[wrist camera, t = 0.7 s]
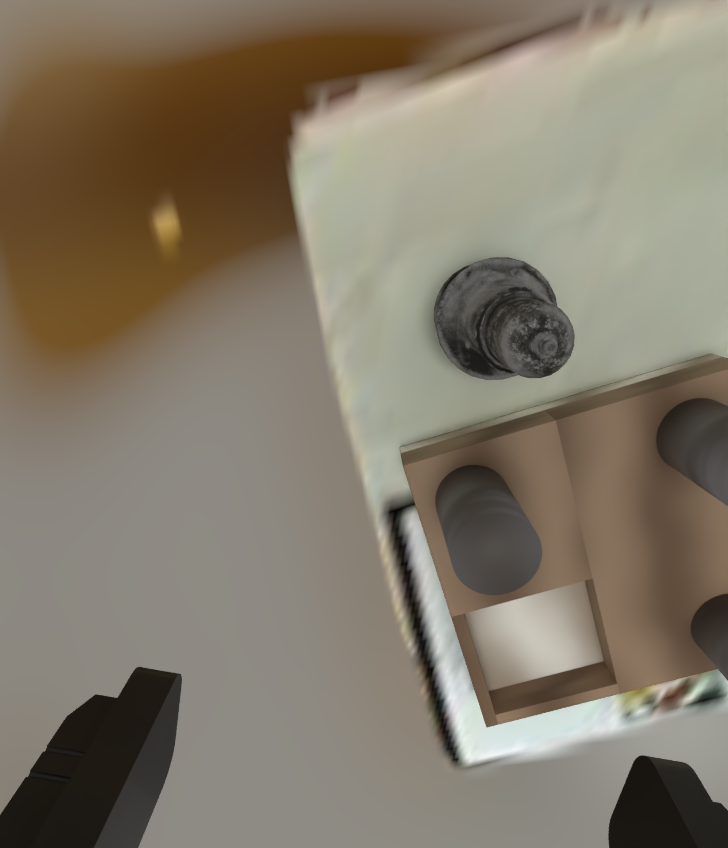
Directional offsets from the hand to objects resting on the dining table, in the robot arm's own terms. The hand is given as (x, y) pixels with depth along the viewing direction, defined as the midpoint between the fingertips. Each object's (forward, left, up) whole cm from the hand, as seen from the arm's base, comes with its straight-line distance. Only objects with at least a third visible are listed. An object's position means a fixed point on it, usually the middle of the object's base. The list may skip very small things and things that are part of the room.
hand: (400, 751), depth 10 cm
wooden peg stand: (-10, +12, -24) cm, 28 cm away
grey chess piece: (-7, -3, -24) cm, 25 cm away
